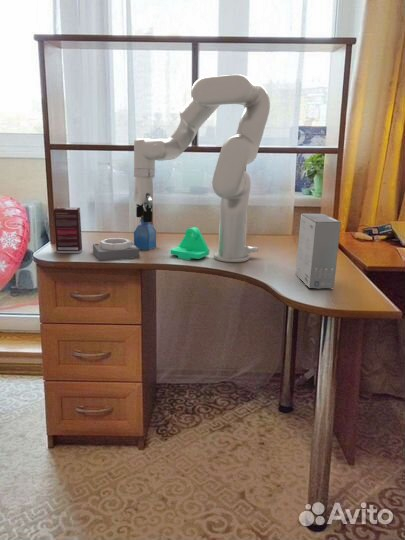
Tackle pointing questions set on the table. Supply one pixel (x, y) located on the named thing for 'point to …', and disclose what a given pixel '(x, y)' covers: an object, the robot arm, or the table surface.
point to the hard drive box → (318, 250)
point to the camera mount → (191, 245)
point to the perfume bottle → (145, 236)
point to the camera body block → (115, 249)
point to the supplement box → (67, 230)
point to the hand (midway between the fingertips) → (143, 219)
